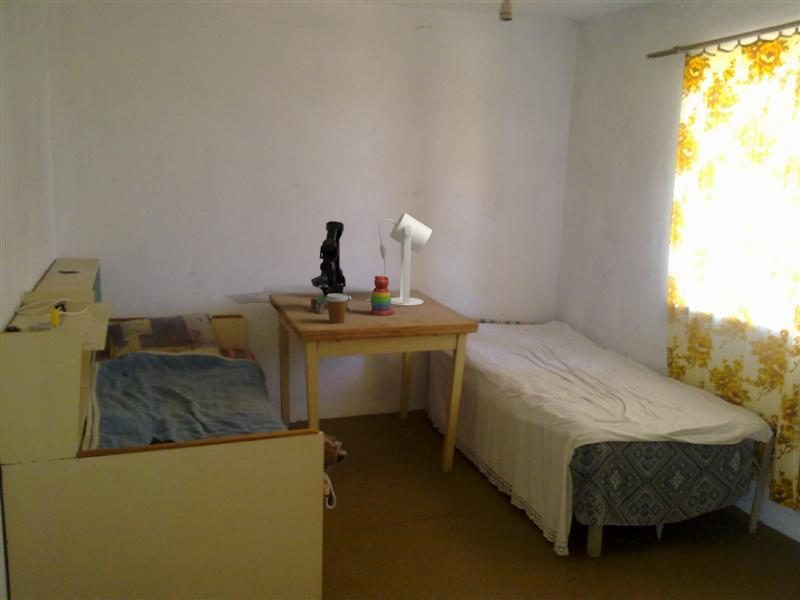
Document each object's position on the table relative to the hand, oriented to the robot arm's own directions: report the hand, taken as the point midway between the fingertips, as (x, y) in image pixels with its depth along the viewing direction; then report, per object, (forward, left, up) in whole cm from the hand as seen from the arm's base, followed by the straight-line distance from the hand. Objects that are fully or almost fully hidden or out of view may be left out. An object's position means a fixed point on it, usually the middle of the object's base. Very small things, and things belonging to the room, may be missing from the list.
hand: (329, 302), depth 308 cm
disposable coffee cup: (+8, +24, -4) cm, 26 cm away
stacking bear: (-18, +18, -4) cm, 26 cm away
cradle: (0, 0, -3) cm, 3 cm away
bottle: (-3, 0, -1) cm, 3 cm away
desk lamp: (-40, -2, -4) cm, 40 cm away
